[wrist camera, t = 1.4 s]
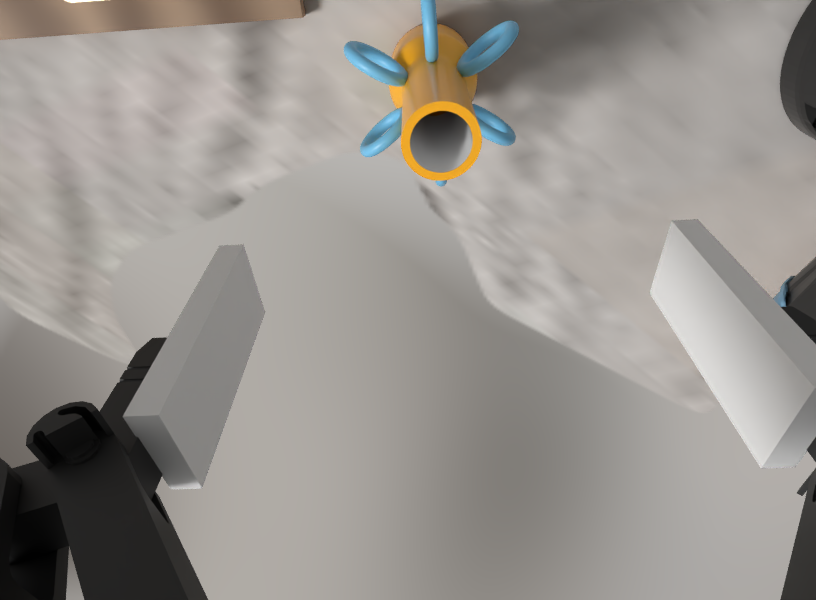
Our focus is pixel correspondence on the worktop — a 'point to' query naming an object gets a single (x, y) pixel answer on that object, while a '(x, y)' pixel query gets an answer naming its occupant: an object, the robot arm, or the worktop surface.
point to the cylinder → (435, 95)
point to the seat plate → (132, 15)
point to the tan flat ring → (80, 0)
